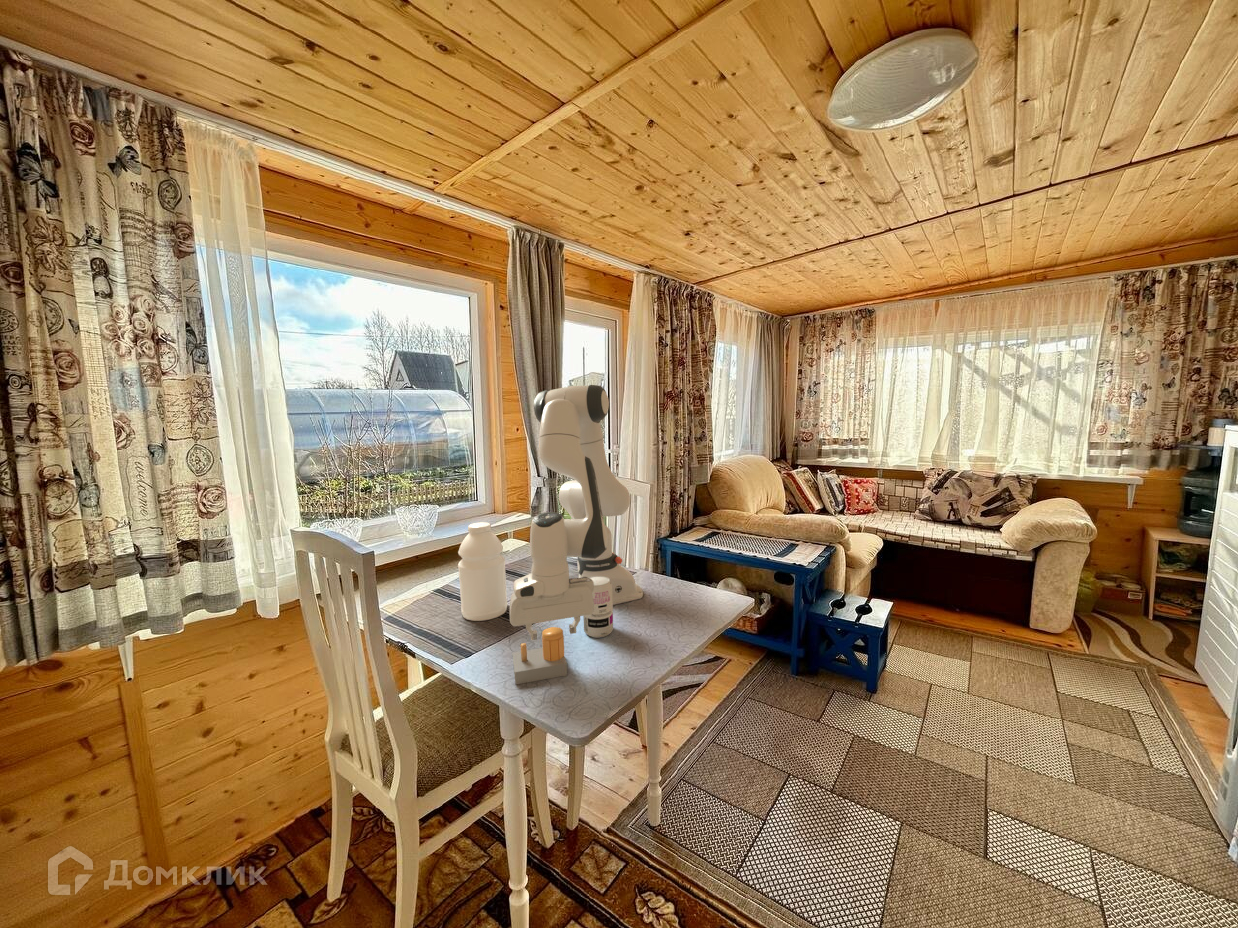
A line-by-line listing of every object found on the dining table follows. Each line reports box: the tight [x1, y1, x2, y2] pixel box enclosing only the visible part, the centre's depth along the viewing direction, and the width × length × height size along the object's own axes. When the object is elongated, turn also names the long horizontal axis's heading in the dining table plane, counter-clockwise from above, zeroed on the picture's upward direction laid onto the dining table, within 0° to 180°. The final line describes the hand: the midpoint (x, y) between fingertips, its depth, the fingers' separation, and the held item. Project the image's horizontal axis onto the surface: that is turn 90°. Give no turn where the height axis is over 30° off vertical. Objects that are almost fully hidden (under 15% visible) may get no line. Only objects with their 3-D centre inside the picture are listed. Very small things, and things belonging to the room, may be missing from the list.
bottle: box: [457, 521, 508, 622], centre depth 143 cm, size 14×14×28 cm
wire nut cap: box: [541, 626, 565, 661], centre depth 112 cm, size 5×5×6 cm
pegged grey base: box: [512, 642, 568, 685], centre depth 112 cm, size 12×9×7 cm
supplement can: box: [582, 576, 614, 639], centre depth 129 cm, size 8×8×15 cm
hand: (553, 635), depth 112 cm, fingers open, 8 cm apart
